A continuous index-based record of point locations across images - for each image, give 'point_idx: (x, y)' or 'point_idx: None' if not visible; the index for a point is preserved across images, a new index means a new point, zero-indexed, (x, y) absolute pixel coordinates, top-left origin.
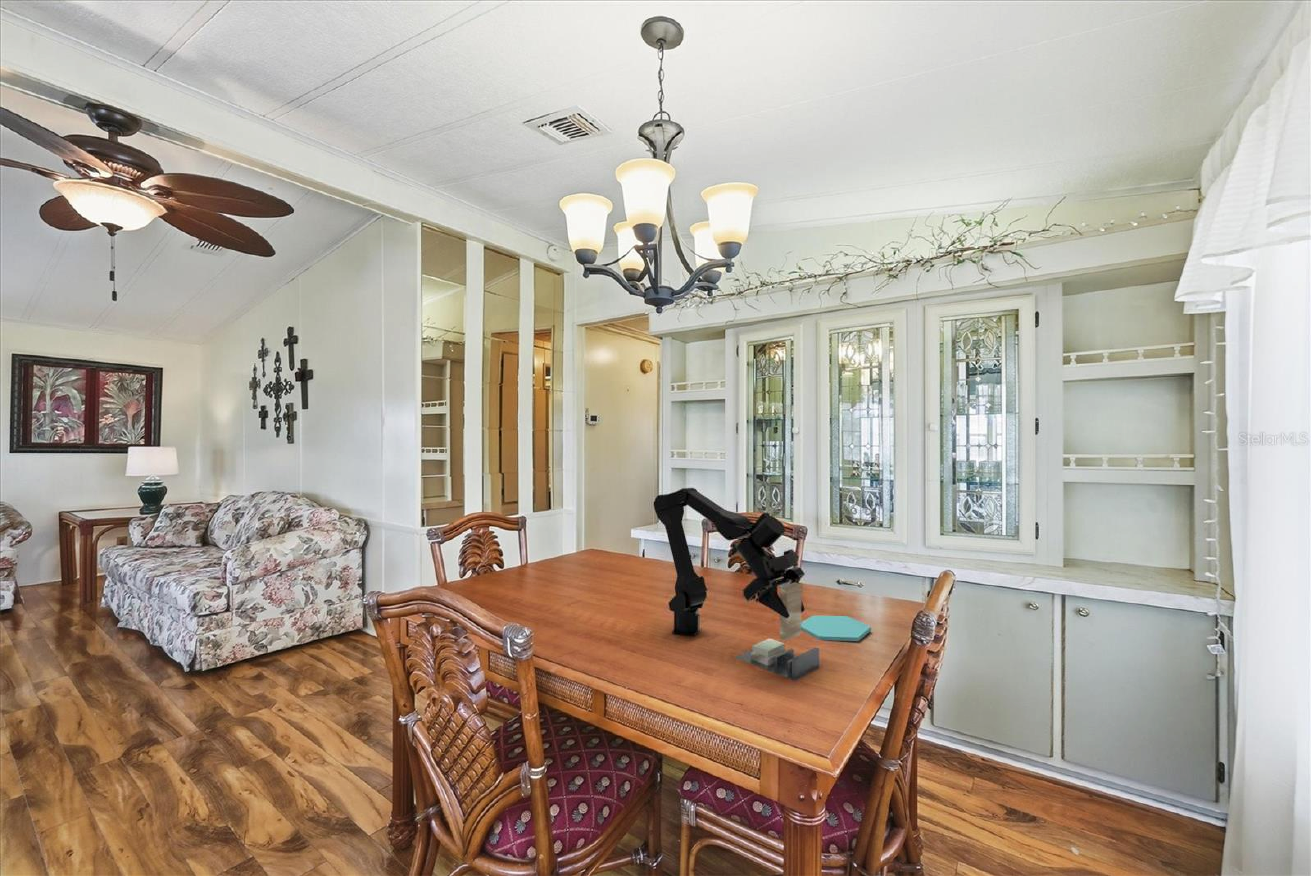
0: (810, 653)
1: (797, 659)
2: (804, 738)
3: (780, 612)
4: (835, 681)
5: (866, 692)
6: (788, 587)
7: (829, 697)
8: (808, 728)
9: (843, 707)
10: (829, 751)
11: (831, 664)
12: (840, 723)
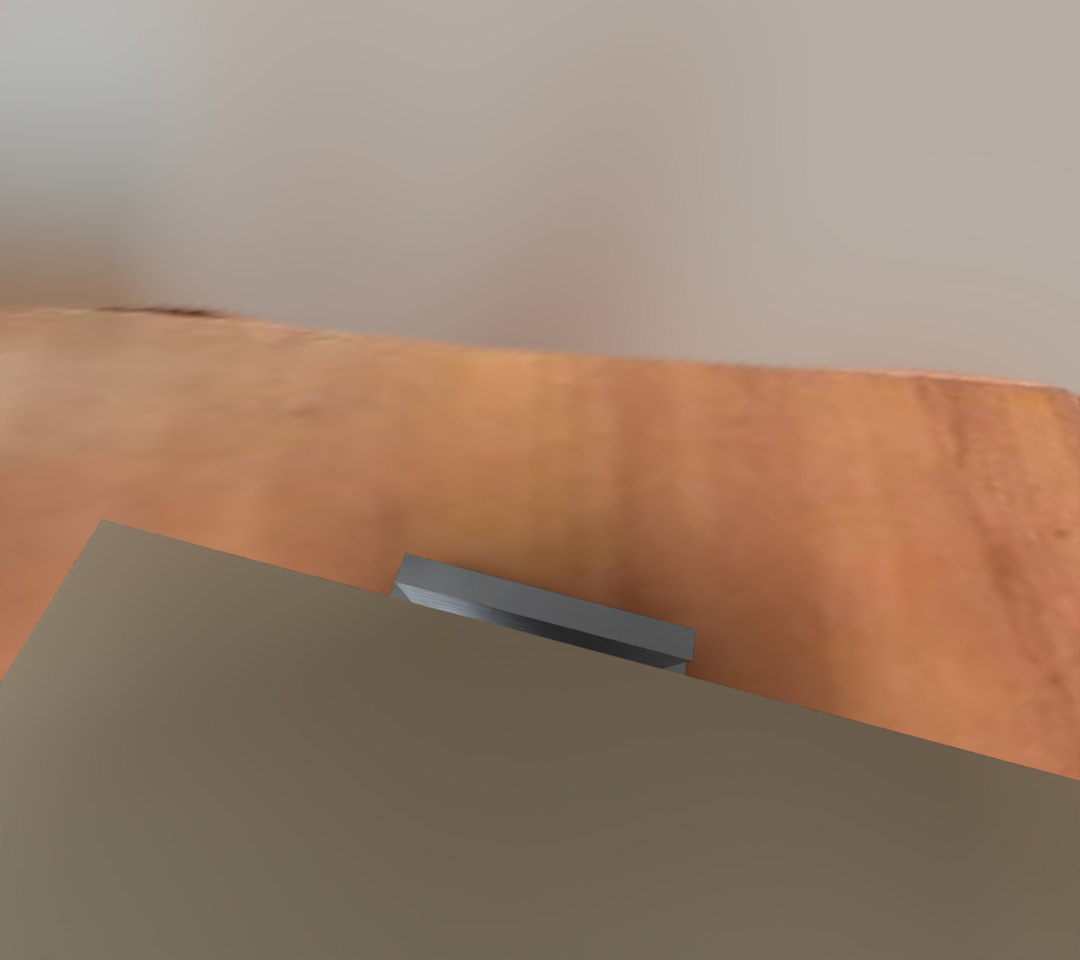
0: (513, 582)
1: (673, 624)
2: (1053, 472)
3: None
4: (519, 482)
5: (553, 358)
6: (928, 850)
7: (694, 469)
8: (984, 477)
9: (739, 407)
10: (1047, 389)
11: (315, 545)
12: (861, 394)
